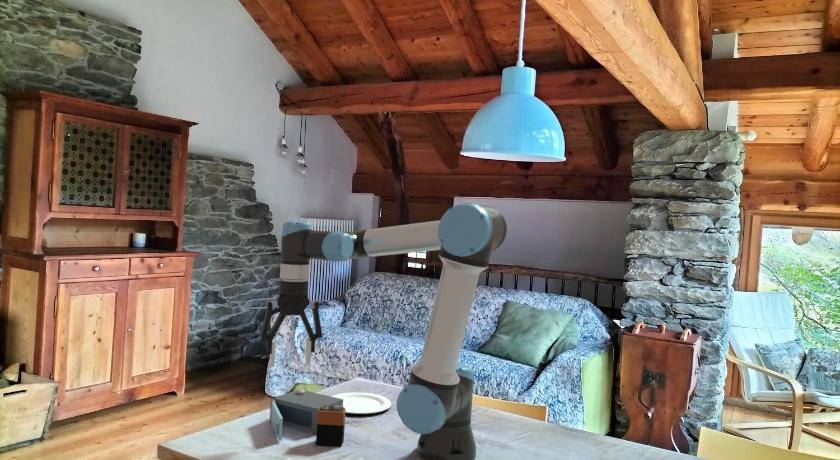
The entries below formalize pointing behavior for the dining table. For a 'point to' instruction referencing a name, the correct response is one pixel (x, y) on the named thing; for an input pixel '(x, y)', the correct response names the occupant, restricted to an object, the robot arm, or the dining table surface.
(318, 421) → the battery
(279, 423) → the door
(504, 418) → the dining table surface
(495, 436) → the dining table surface
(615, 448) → the dining table surface
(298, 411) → the camera body
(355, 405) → the plate
